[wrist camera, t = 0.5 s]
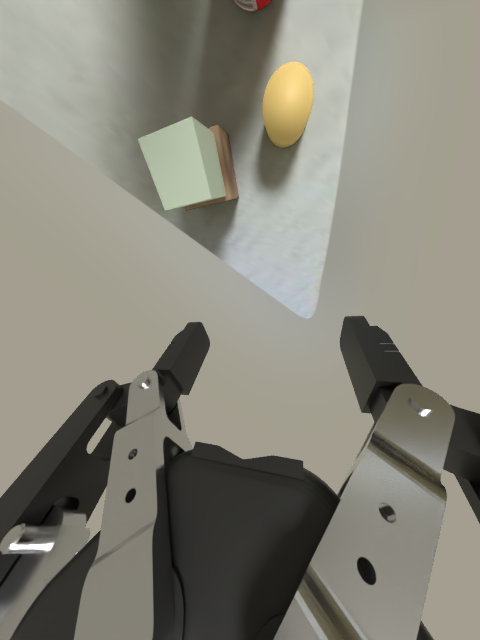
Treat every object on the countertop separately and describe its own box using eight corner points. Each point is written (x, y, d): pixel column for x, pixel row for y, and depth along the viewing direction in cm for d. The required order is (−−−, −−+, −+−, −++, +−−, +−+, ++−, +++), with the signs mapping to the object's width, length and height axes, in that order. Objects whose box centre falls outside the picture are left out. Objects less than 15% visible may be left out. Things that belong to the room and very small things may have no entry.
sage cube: (169, 149, 21) (137, 139, 17) (213, 132, 20) (191, 116, 15) (187, 205, 25) (165, 210, 20) (226, 196, 23) (211, 198, 18)
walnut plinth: (183, 151, 25) (165, 144, 21) (228, 134, 23) (217, 124, 19) (199, 207, 29) (186, 210, 25) (239, 197, 27) (231, 199, 23)
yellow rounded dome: (263, 96, 20) (259, 75, 16) (308, 77, 19) (315, 50, 15) (268, 153, 23) (265, 146, 19) (307, 140, 22) (312, 130, 18)
